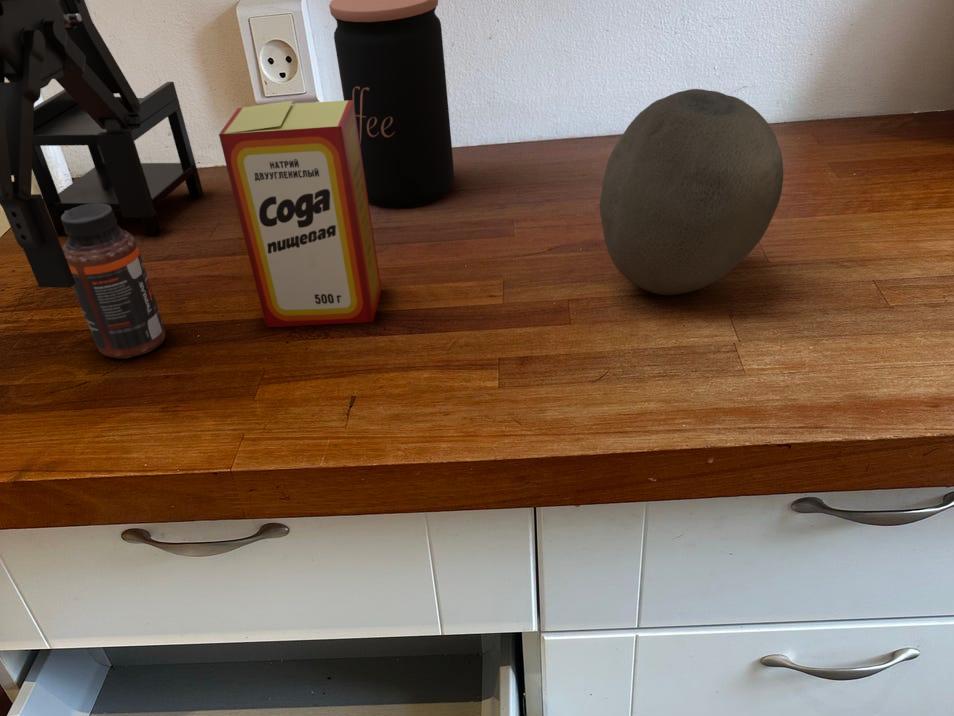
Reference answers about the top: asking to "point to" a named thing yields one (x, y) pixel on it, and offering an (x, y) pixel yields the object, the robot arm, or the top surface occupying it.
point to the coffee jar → (397, 97)
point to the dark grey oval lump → (689, 190)
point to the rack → (73, 126)
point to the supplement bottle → (111, 283)
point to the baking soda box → (304, 211)
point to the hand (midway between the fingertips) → (101, 249)
